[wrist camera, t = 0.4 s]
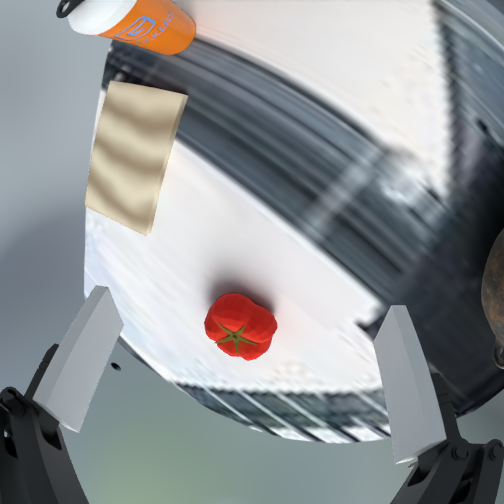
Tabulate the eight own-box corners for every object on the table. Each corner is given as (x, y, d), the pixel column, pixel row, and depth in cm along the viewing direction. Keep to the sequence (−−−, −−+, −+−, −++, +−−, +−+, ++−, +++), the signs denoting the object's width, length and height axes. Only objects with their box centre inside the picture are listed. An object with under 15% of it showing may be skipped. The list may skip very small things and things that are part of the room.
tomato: (230, 276, 43) (216, 298, 37) (290, 313, 43) (284, 340, 37) (204, 316, 47) (189, 339, 41) (258, 349, 47) (249, 375, 42)
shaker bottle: (140, 37, 31) (45, 5, 13) (185, 1, 28) (103, -56, 10) (164, 72, 33) (61, 44, 15) (213, 35, 30) (131, -27, 12)
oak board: (116, 81, 35) (110, 80, 33) (188, 95, 34) (183, 94, 33) (90, 203, 44) (84, 206, 43) (150, 232, 43) (145, 235, 42)
